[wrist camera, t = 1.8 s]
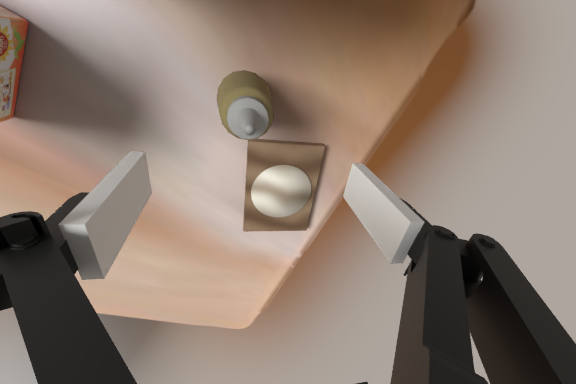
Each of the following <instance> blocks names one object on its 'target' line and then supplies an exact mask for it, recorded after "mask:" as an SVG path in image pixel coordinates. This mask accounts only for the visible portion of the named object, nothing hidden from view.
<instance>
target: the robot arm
mask: <svg viewBox="0 0 576 384" xmlns="http://www.w3.org/2000/svg"><path fill="white" fill-rule="evenodd" d="M151 194H152V190H151V184H150V179H149V173H148V167H147V161H146V155H145V152H137V151H130V152H129V153H128V154H127V155H126V156H125V157H124V158H123V159H122V160H121V161H120V162H119V163H118V164H117V165H116V166H115V167H114V168H113V169H112V170H111V171H110V172H109V173H108V174H107V175H106V176H105V177H104V178H103V179H102V180H101V181H100V182H99V183H98V185H97V186H96V187H95V188H94V189H93V190H92V191H91V192H90V193H79V194H77V195H75V196H73V197H71V198H69V199H68V200H67V201H66V202H65V203H64V204H63V205H62V207H60V208H59V209H57V210H56V211H55V213H53V214H52V215H51V216H50V217H49V218H48V219H47V220H46V221H44V218H43V216H42V215H41V214H39V213H37V212H18V213H13V214H9V215H6V216H3V217H0V311H1V310H4V309H8V308H11V307H13V308H14V311H15V314H16V317H17V320H18V324H19V327H20V330H21V333H22V336H23V339H24V342H25V345H26V348H27V351H28V354H29V357H30V361H31V363H32V367H33V370H34V373H35V376H36V379H37V382H38V384H137V383H136V381H135V379H134V378H133V376H132V374H131V372H130V371H129V369H128V367H127V366H126V364H125V362H124V360H123V359H122V357H121V355H120V353H119V352H118V350H117V348H116V346H115V345H114V343H113V342H112V340H111V338H110V336H109V334H108V333H107V331H106V329H105V327H104V326H103V324H102V322H101V320H100V319H99V317H98V315H97V313H96V312H95V310H94V308H93V307H92V305H91V303H90V301H89V300H88V298H87V296H86V294H85V293H84V291H83V289H82V287H81V286H80V284H79V282H78V280H77V279H76V277H75V275H74V274H75V273H76V271H77V270H78V271H79V274H80V276H81V278H82V280H86V279H104V278H105V276H106V275H107V273H108V271H109V269H110V267H111V266H112V264H113V262H114V260H115V258H116V257H117V255H118V253H119V251H120V249H121V248H122V246H123V244H124V242H125V240H126V239H127V237H128V235H129V233H130V231H131V230H132V228H133V226H134V224H135V222H136V221H137V219H138V217H139V215H140V213H141V212H142V210H143V208H144V206H145V204H146V203H147V201H148V199H149V197H150V195H151ZM343 197H344V198H345V200H346V201H347V203H348V204H349V206H350V207H351V208H352V210H353V211H354V213H355V214H356V215H357V217H358V218H359V220H360V221H361V223H362V224H363V225H364V227H365V228H366V230H367V231H368V233H369V234H370V235H371V237H372V238H373V240H374V241H375V243H376V244H377V245H378V247H379V248H380V249H381V251H382V252H383V254H384V255H385V257H386V258H387V260H388V261H389V262H390V263H391V264H393V263H403V262H404V260H405V258H406V256H407V254H408V255H409V257H410V258H411V259H412V260H411V262H410V264H409V266H408V268H407V269H406V271H405V273H404V276H406V274H407V281H406V288H405V294H404V301H403V307H402V314H401V320H400V326H399V333H398V339H397V346H396V352H395V358H394V365H393V371H392V378H391V384H488V382H487V381H486V380H485V379H484V378H483V377H481V376H479V375H478V374H476V373H475V370H474V364H473V356H472V348H471V339H470V333H471V335H472V338H473V341H474V343H475V346H476V348H477V350H478V353H479V356H480V358H481V361H482V363H483V366H484V368H485V371H486V374H487V376H488V379H489V381H490V384H576V344H575V342H574V341H573V340H572V338H571V337H570V336H569V335H568V333H567V332H566V330H565V329H564V328H563V326H562V325H561V324H560V322H559V321H558V320H557V319H556V317H555V316H554V315H553V313H552V312H551V311H550V309H549V308H548V307H547V305H546V304H545V303H544V301H543V300H542V299H541V297H540V296H539V295H538V293H537V292H536V291H535V289H534V288H533V287H532V285H531V284H530V283H529V281H528V280H527V279H526V277H525V276H524V275H523V273H522V272H521V271H520V269H519V268H518V267H517V265H516V264H515V263H514V261H513V260H512V259H511V257H510V256H509V255H508V253H507V252H506V251H505V249H504V248H503V247H502V246H501V245H500V244H499V243H498V242H497V241H495V240H494V239H493V238H490V237H489V236H485V235H482V234H473V235H472V237H471V238H470V239H469V241H467V240H462V239H458V238H457V236H456V235H455V234H454V233H453V232H451V231H450V230H448V229H446V228H444V227H441V226H435V225H433V226H432V225H431V224H430V223H429V222H428V221H427V220H425V219H424V218H423V217H422V216H421V215H420V214H419V213H417V211H416V210H415V209H413V207H412V206H411V205H409V204H408V203H407V202H406V201H404V200H402V199H401V198H399V197H398V196H396V195H395V194H394V193H393V192H392V191H391V190H390V189H389V188H388V187H387V186H386V185H385V184H384V183H383V182H382V181H381V180H380V179H379V178H377V177H376V176H375V175H374V174H373V173H372V172H371V171H370V170H369V169H368V168H367V167H366V166H365V165H364V164H361V163H353V164H352V168H351V171H350V175H349V178H348V181H347V185H346V188H345V192H344V195H343ZM482 277H483V280H482V281H481V278H482ZM469 330H470V331H469ZM357 384H368V383H367V382H363V383H357Z"/></svg>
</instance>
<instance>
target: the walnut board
mask: <svg viewBox="0 0 576 384" xmlns="http://www.w3.org/2000/svg"><path fill="white" fill-rule="evenodd" d="M324 150H325V146H324V145H323V144H319V143H305V142H291V141H277V140H263V139H250V140H248V152H247V170H246V188H245V206H244V225H243V230H244V231H301V230H307V225H308V221H309V216H310V212H311V208H312V203H313V199H314V194H315V190H316V185H317V181H318V176H319V172H320V168H321V163H322V159H323V154H324Z"/></svg>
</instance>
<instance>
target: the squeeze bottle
mask: <svg viewBox="0 0 576 384" xmlns="http://www.w3.org/2000/svg"><path fill="white" fill-rule="evenodd" d="M217 103H218V108H219V113H220V117H221V121H222V124H223V125H224V127H225V128H226V129H227V131H228V132H229V133H231V134H232V135H234V136H235V137H237V138H240V139H245V140H250V139H256V138H258V137H260V136H262V135H263V134H265V133H266V132H267V130H268V129H269V128H270V126H271V125H272V121H273V116H274V112H273V105H272V98H271V92H270V89H269V87H268V86H267V84H266V82H265V81H264V80H263V79H262V78H261V77H259V76H258V75H257V74H256V73H252V72H249V71H245V70H243V71H237V72H233V73H231V74H230V75H228V76H227V77H225V78H224V79H223V81H222V83H221V84H220V86H219V88H218V94H217Z"/></svg>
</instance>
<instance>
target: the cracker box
mask: <svg viewBox="0 0 576 384" xmlns="http://www.w3.org/2000/svg"><path fill="white" fill-rule="evenodd" d="M28 23H29V22H28V21H27V20H25V19H24V18H22V17H20V16H18V15H17V14H15V13H13V12H11V11H9V10H7V9H6V8H4V7H2V6H0V122H1V121H5V120H7V119H10V118H13V116H14V110H15V104H16V98H17V91H18V85H19V79H20V73H21V67H22V60H23V54H24V48H25V41H26V35H27V29H28Z"/></svg>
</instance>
